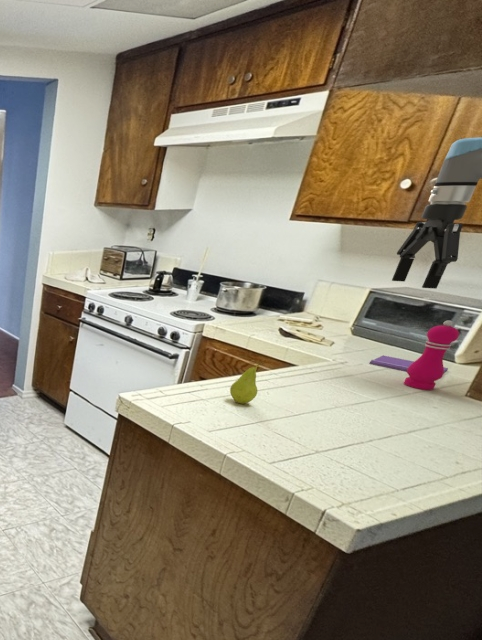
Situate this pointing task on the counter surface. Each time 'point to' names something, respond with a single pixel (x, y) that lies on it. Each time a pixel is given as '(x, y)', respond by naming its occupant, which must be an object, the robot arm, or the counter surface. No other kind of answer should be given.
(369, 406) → the counter surface
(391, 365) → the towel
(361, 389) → the counter surface
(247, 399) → the fruit
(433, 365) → the pepper mill
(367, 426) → the counter surface
